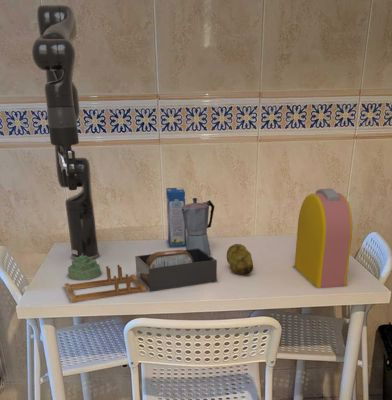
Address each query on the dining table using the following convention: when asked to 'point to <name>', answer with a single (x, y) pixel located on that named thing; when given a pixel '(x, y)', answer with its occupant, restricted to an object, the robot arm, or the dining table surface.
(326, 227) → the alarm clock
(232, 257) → the olive green oval lump
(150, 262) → the tin
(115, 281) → the dish rack
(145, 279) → the dark grey open box
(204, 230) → the moka pot
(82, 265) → the decorative artifact
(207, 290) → the dining table surface
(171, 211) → the milk carton
